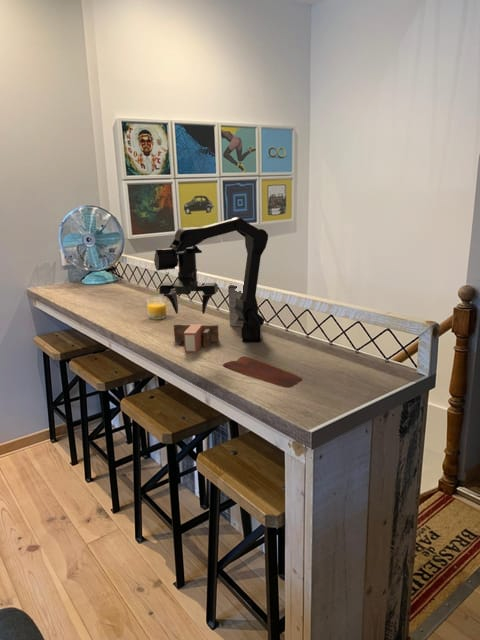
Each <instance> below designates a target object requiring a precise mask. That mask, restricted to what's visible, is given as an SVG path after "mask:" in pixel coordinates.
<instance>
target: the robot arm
mask: <svg viewBox="0 0 480 640" xmlns="http://www.w3.org/2000/svg"><path fill="white" fill-rule="evenodd" d="M235 231H236V232H237V233H238V234H239V235H241V236H242V237H244V243H245V244H244V245H245V249H246V253H247V256H246V263H245V269H244V277H243V278H244V279H243V282H244V285H243V293H242V295H241V297H240V299H239V298H236V305H235V308H234V309H235V310H236V314H237V315H238V316H239V317H240V318H241V321H243V322H244V323H243V326H241V328H240V329H241V339H242V340H241V341H242V342H244V343H245V342H246V343H247V342H248V343H261V342H262V338H263V335H262V326H263V325H264V323H265V318H264V317H263V316H261V315H260V314H259V307H258V306H259V304H258V300H257V296H256V295H257V288H258V287H257V286H258V280H259V273H260V272H259V271H260V265H261V258H262V255H263V253H264V251H265V249H266V248H267V244H268V240H269V234H268V233H267V231H266V230H265V229H262V228H257V227H256V226H255V225H252V224H250V223H249V222H247V221H245V220H244V219H243V218H242V217H237V216H235V217H232V218H230V219H227V220H223V221H217V222H214V223H211V224H207V225H203V226H196V227H194V226H193V227H180V228H178V229H177V230H176V232H175V235H174V239H173V241H172V243H171V244H170V245H169V248H168V247H167V248H156V249H154V250H155V253H154V258H153V263H154V267H155V269H156V271H158V272H159V271H167V270H174V269H176V268H178V272H177V279H176V281H175V282H163V283H162V284H161V285H160V286H159V287H158V291H159V295H163V297H167V299H168V300H169V302H170V303H171V306H172V308H173V310H174V313H175V314H179V303H178V296H180V295H190V294H191V292H202V293H203V294H202V295H201V296H202V311H201V312H202V315H204V314H205V313H206V310H207V305H208V303H209V300H210V298H211V297H213V295H216V294H217V293H218V291H219V285H218V284H217V283H216V282H206V283H204V284H203V285H199V281H198V278H197V277H198V274H197V273H198V269H197V258H196V257H197V256H196V254H202V253H203V251H202V250H201V249H200V248H199V247H198V246H197V245H199V244H200V243H202V242H204V241H205V240H207V239H212V238H213V237H217V236H222V235H226V234H228V233H232V232H235Z"/></svg>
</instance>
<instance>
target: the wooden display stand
mask: <svg viewBox="0 0 480 640" xmlns="http://www.w3.org/2000/svg"><path fill="white" fill-rule="evenodd" d="M191 324H192V323H174V324H173V332H174V333H173V334H174V341H175V342H176V341H177V342H180V341H181V342H182V341H183V340H184V332H185V331H186V329H187V328H188V327H189V326H190V325H191ZM201 324H202V329H203V346H204V347H208V346H210V344H211V343H213V342H215V343H216V342H219V340H220V338H219V337H220V336H219V324H217V323H215V324H209V323H208V324H205V323H201Z"/></svg>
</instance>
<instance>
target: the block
mask: <svg viewBox="0 0 480 640" xmlns="http://www.w3.org/2000/svg"><path fill="white" fill-rule="evenodd" d="M190 324H191V325H190V326H189V327H188V329H187V330H186V331H185V332H184V345H185V346H184V353H187V352H188V353H187V354H189V353H193V354H196V353H198V351H199V350H200V349H201V347H202V345H204V341H203V329H202V324H203V323H190Z"/></svg>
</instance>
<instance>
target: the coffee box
mask: <svg viewBox="0 0 480 640" xmlns="http://www.w3.org/2000/svg"><path fill="white" fill-rule="evenodd" d="M227 288H228V289H227V290H228V291H227V292H228V311H229V315H228V316H229V326H231V327H242V326H243V323H244V322H243V321H241V318H240V317H239V316H238V315H237V314H236V310H235V309H234V308H235V305H236V298H239V299H240V297H241V295H242V293H241V291H239V292H237V291H235V289H236V288H237V286H234V285H231V284H229V285H228V286H227Z"/></svg>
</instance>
